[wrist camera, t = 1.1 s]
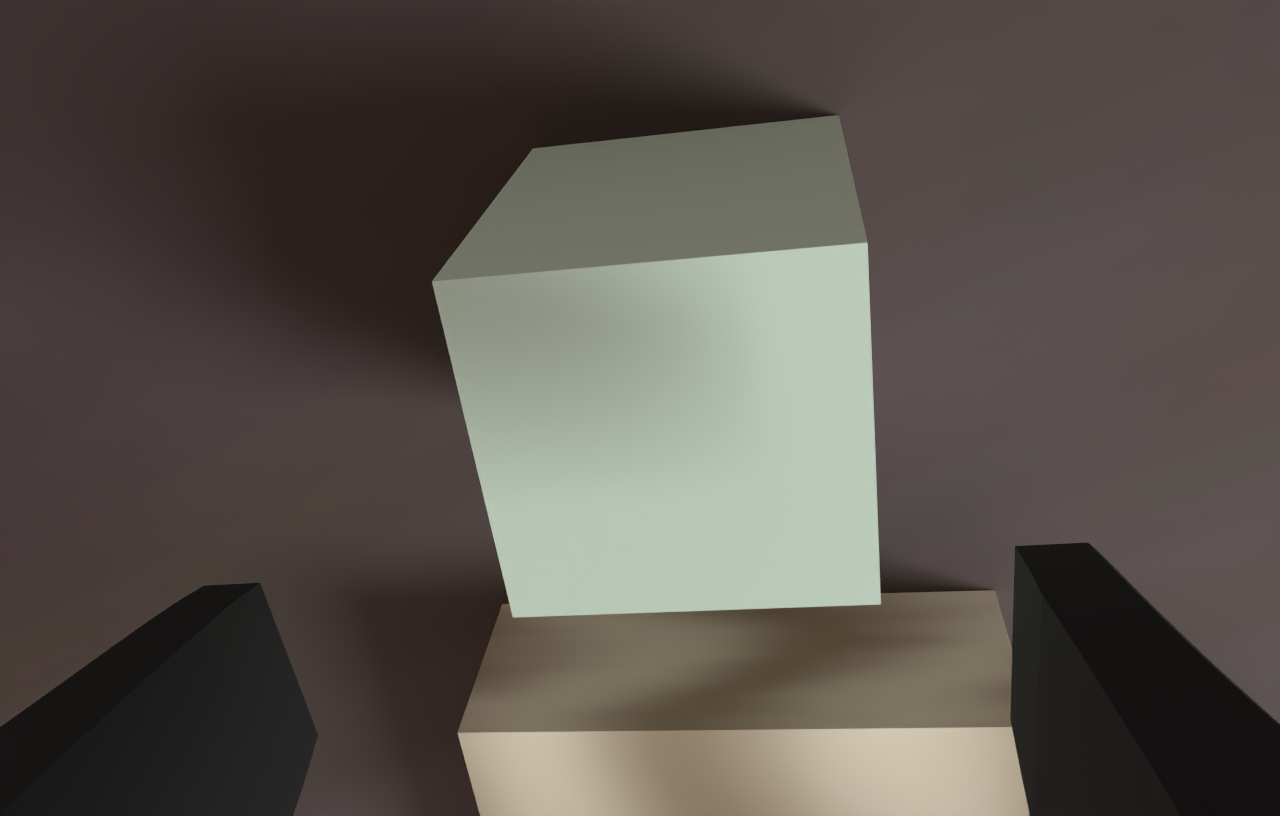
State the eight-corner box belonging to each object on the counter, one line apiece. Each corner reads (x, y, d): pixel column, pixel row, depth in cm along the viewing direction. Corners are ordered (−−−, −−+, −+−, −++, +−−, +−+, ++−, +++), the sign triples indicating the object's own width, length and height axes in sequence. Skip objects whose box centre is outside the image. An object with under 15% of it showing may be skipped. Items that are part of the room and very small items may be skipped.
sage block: (838, 114, 17) (867, 242, 12) (852, 392, 19) (880, 604, 14) (533, 147, 18) (431, 281, 12) (581, 410, 20) (512, 617, 15)
